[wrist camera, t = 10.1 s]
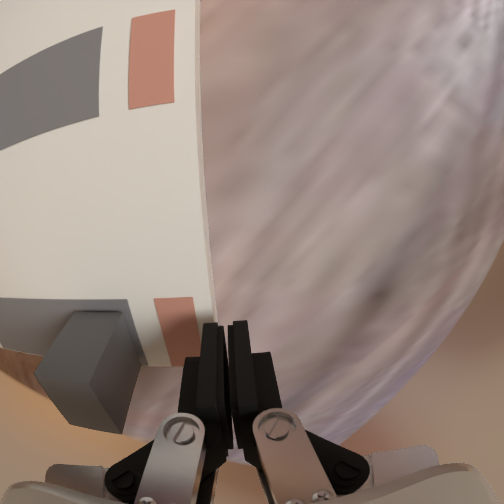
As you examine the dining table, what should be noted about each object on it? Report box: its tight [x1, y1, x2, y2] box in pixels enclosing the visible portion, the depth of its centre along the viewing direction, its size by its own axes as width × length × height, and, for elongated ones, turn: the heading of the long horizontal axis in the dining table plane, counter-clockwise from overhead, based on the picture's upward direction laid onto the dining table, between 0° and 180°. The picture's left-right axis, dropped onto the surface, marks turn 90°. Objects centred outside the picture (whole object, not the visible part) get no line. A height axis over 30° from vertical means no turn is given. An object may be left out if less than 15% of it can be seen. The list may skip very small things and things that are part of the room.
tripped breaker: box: [34, 312, 141, 434], centre depth 9 cm, size 2×3×4 cm
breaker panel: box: [0, 0, 219, 367], centre depth 7 cm, size 18×26×2 cm
